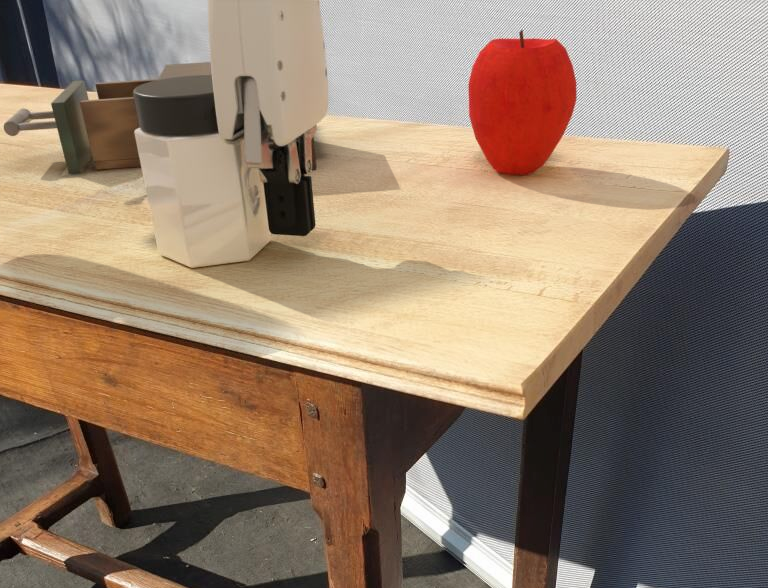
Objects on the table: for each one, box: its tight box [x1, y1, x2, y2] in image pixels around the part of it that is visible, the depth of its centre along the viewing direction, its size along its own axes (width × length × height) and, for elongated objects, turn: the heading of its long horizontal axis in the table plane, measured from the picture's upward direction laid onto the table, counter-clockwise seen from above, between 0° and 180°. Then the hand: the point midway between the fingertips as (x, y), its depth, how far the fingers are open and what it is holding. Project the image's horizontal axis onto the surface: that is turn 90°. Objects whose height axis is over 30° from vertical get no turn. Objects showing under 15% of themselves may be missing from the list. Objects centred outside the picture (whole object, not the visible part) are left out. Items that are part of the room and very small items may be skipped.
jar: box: [133, 75, 273, 269], centre depth 63 cm, size 9×8×12 cm
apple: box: [467, 29, 578, 176], centre depth 77 cm, size 10×10×12 cm
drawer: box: [3, 78, 158, 175], centre depth 85 cm, size 19×11×7 cm, turn 97°
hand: (292, 231), depth 63 cm, fingers closed
